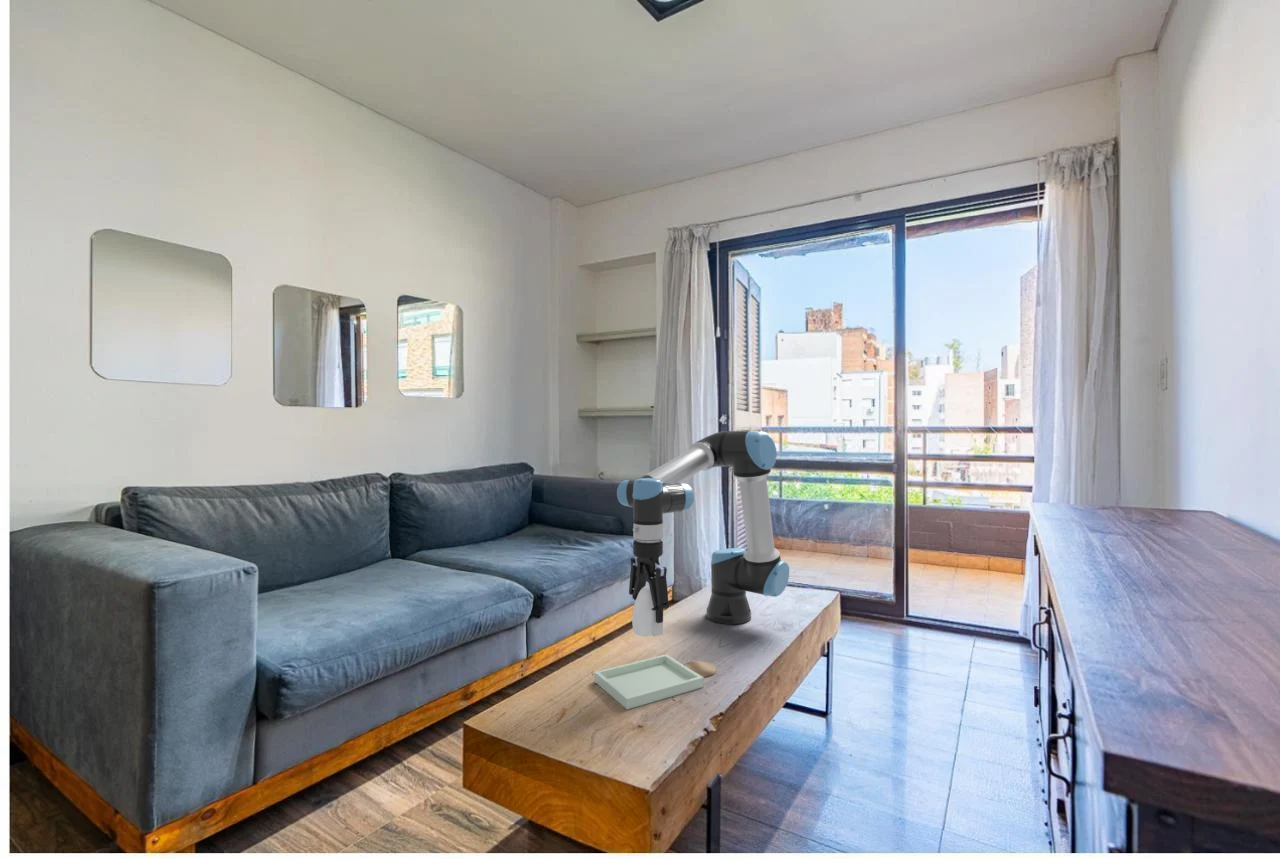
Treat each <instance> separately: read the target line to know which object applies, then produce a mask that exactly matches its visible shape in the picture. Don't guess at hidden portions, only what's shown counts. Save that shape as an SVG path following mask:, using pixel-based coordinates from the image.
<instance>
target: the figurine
mask: <svg viewBox="0 0 1280 859" xmlns="http://www.w3.org/2000/svg"><path fill="white" fill-rule="evenodd" d="M657 605H658V603H657ZM651 608H654V606H653V601H652V596H651V591H650V587H649V584H646V585H645V586H644V587H643V588H642V589H641V590H640V592H639V594H638V596H637V599H636V602H635V606H634V605H633V608H632V609H633V610H632V614H631V615H632V617H631V618H632V619H631V620H632V621H631V622H632V624H631V625H632V631H633V634H634V635H636V636H639V637H653V636H652V609H651Z"/></svg>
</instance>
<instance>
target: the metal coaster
mask: <svg viewBox="0 0 1280 859" xmlns="http://www.w3.org/2000/svg"><path fill="white" fill-rule="evenodd" d="M683 665H684V666H686V667H688V668H689V669H691V670H692V671H694V672H696V673H697V674H699V675H701V676H702V677H704V678H709V677H712V676H714V675H715V674H717V667H716V666H715V665H714V664H713V663H711V662H706V661H698V660H697V661H696V660H695V661H690V662H687V663H685V664H683Z"/></svg>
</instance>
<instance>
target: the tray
mask: <svg viewBox="0 0 1280 859" xmlns="http://www.w3.org/2000/svg"><path fill="white" fill-rule="evenodd" d="M684 665H685V664H682V663H681V662H680V661H678V660H676V659H675V658H673V657H671V656H670V655H668V654H667V653H666V654H662V655H657V656H654V657H649V658H645V659H641V660H637V661H633V662H629V663H625V664H621V665H617V666H613V667H609V668H605V669H601V670H598V671H594V683H596V684H597V686H599V687H601V688H602V689H603V690H604V691H605V692H606V693H607V694H609V696H611V697H612V698H613V699H615V700H616V701H617V702H618V704H620V705H621V706H622V707H623V708H625V709H626V710H630V709H634V708H637V707H640V706H643V705H647V704H651V703H654V702H657V701H661V700H664V699H668V698H672V697H675V696H678V695H681V694H684V693H688V692H692V691H695V690H698V689H701V688H704V687H705V686H704V684H705V683H704V679H705V677H702V676H701V675H699V674H697V673H696V672H694V671H692V670H691V669H689V668H688V667H686V666H684Z"/></svg>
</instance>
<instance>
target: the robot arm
mask: <svg viewBox="0 0 1280 859" xmlns="http://www.w3.org/2000/svg"><path fill="white" fill-rule="evenodd" d="M777 454H778V453H777V447H776V444H775V441H774V439H773V438H772V436H770V435H769V434H768V432H765V431H757V430H722V431H719V432H716V433H712V434H710V435H707V436H705V437H703V438H702V439H700V440H697V441H696V442H694V443H692V444H691V445H690V447H689V449H688V450H686V451H685V452H683V453H681V454H680V455H679V454H678V456H676V457H674V458H672V459H671V460H669V461H667V462H665V463H664V464H662V465H660V466H658V467H657V468H655V469H653V470H651V471H650V472H648V473H646V474H644V475H642V476H640V477H638V478H637V479H635V480H633V479H625V480H623V481H621V482H620V483H619V484H618V486H617V490H616V497H617V500H618V502H619V503H620V504H621V505H623V506H624V507H629V508H632V509H633V510H632V512H633V513H632V519H633V520H632V522H633V528H632V531H633V535H632V536H633V539H634V540H633V542H632V553H633V555H634V557H631V558H630V575H629V576H630V577H629V586H628V594H629V595H631V596H632V599H633V607H634V606H635V602H636V599H637V596H638V594H639V592H640V590H641V589H642V588H643V587H644V586H646V585H647V583H648V585H649V587H650V591H651V596H652V601H653V606H654V608H651V609H652V636H651V637H657V636H661V635H663V634H664V630H663V629H664V625H663V623H664V609H668V608H669V607H670V604H669V602H670V601H669V594H668V583H667V572H668V569H667V567H666V566H661V565H660V560H659V558H660V557H661V556H662V555H663V553H664V550H663V549H664V546H663V545H664V544H663V543H664V541H663V540H662V539H663V538H664V526H663V524H664V523H663V522H664V521H663V519H664V517H663V516H664V515H665V514H670V513H676V512H679V513H681V512H683V511H686V510H689V509H690V508H691V507H692V506H693V504H694V503H695V494H694V490H693V488H692V487H691V485H689V484H688V483H685V481H687V480H688V479H690V478H691V477H693V476H695V475H696V474H698V473H699V472H701V471H702V472H703V471H709V470H711V469H712V468H717V467H718V468H719V467H722V468H723V467H726V468H732V472H733V477H734V478H736V479H738V482H739V490H740V498H741V507H742V514H743V522H744V531H745V540H746V547H747V548H746V549H745V548H740V547H738V548H737V547H734V548H733V547H732V548H731V547H730V548H723V549H718V550H715V551H713V552H712V553H711V563H710V565H711V566H710V567H711V568H710V569H711V571H710V572H711V578H710V579H711V594H710V597H709V601H708V605H707V608H706V611H705V612H706V619H708V620H710V621H711V622H713V623H718V624H724V625H740V624H741V625H742V624H745V623H748V622H750V621H751V619H752V610H751V608H750V604H749V601H748V598H747V592H749V593H754V594H757V595H761V596H764V597H773V598H775V597H779V596H781V594H783V592H784V591H785V590H786V588H787V585H788V583H789V580H790V567H789V566H790V565H789V564H788V563H787V562H786V561H785V560H781V553H780V551H779V550H778V549H777V548H776V547H775V541H774V532H773V530H774V529H773V521H772V514H771V507H770V506H771V505H770V497H769V495H770V494H769V489H768V480H767V478H768V476H769V475H770V474H771V472H772V471H771V469H772V468H773V467H775V464H776V461H777V456H778V455H777ZM657 603H658V605H657Z"/></svg>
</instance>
